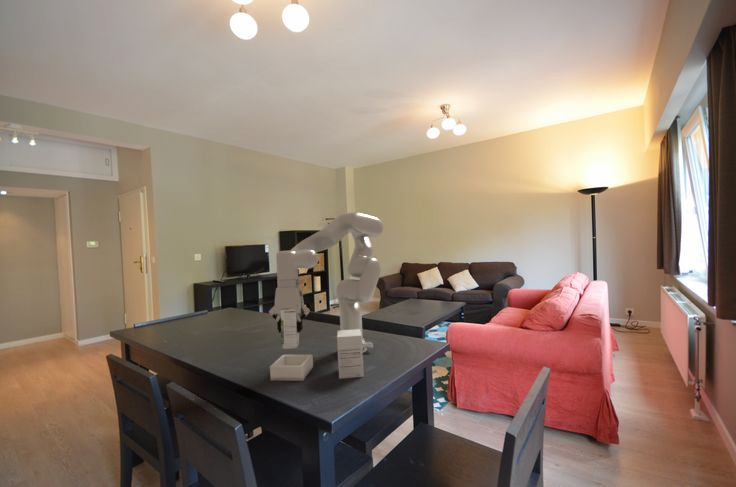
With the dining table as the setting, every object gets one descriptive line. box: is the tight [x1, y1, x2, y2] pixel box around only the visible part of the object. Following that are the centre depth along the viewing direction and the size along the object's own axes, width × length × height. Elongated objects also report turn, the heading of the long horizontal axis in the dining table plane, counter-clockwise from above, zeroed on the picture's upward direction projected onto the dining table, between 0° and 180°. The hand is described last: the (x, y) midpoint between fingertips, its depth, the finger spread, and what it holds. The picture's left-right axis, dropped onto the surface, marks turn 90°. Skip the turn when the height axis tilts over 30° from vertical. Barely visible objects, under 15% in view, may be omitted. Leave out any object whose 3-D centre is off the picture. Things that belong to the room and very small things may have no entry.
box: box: [269, 354, 314, 382], centre depth 123 cm, size 12×12×5 cm
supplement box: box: [336, 329, 365, 380], centre depth 121 cm, size 9×9×15 cm
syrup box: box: [280, 309, 300, 350], centre depth 123 cm, size 6×6×14 cm
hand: (290, 331), depth 123 cm, fingers closed on syrup box, 6 cm apart
